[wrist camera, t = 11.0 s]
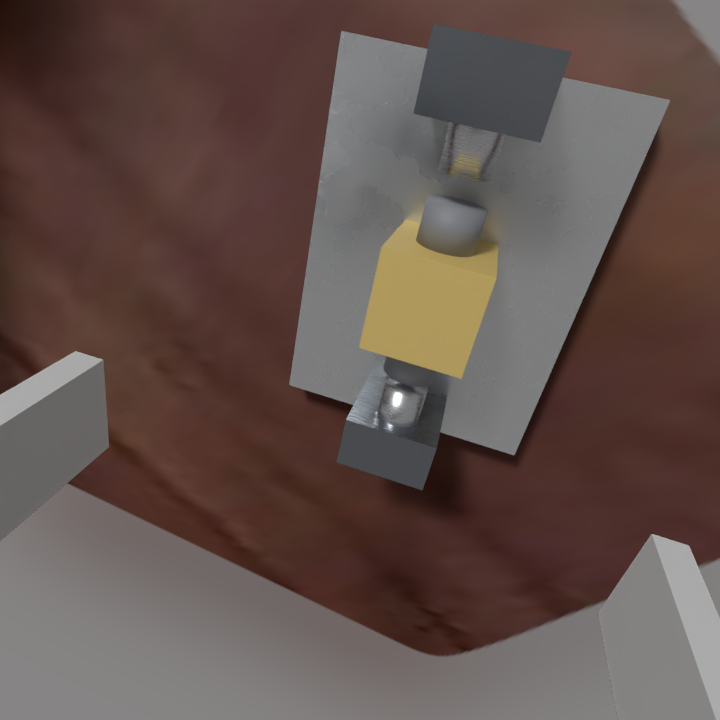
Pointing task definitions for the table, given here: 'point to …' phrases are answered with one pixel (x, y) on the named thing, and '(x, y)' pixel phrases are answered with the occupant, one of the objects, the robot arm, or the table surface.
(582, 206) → the grey mounting plate
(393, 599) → the table surface
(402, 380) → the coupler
